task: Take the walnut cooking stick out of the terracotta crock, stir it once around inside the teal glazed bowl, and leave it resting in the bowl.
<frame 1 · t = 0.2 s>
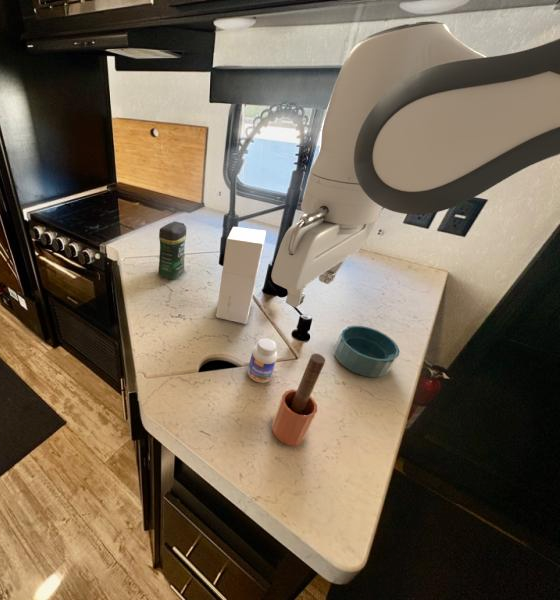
hand: (310, 291, 46), 31 cm above the worktop, tool pointing down, fingers open, 8 cm apart
stick: (288, 429, 61), resting on crock
crock: (287, 431, 62), on the worktop
pill bottle: (258, 374, 74), on the worktop
coffee jar: (171, 274, 112), on the worktop
bowl: (359, 359, 78), on the worktop
tall white carton: (233, 313, 93), on the worktop
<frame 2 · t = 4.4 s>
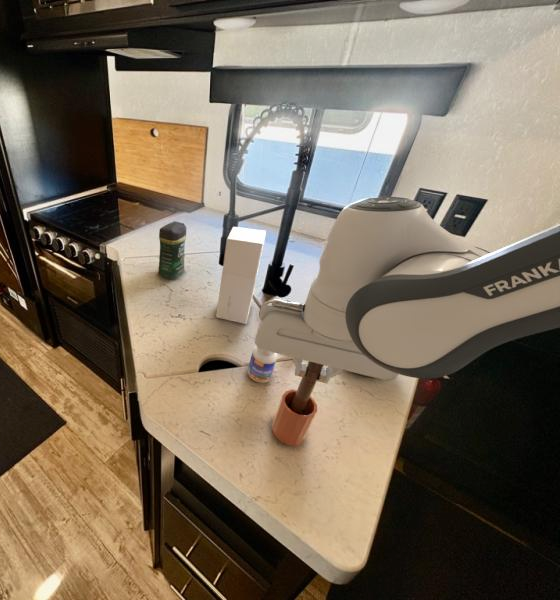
hand: (310, 376, 52), 16 cm above the worktop, tool pointing down, fingers closed on stick, 2 cm apart
stick: (288, 429, 61), point 1 cm above the worktop, touching crock, gripper
everything else where it was.
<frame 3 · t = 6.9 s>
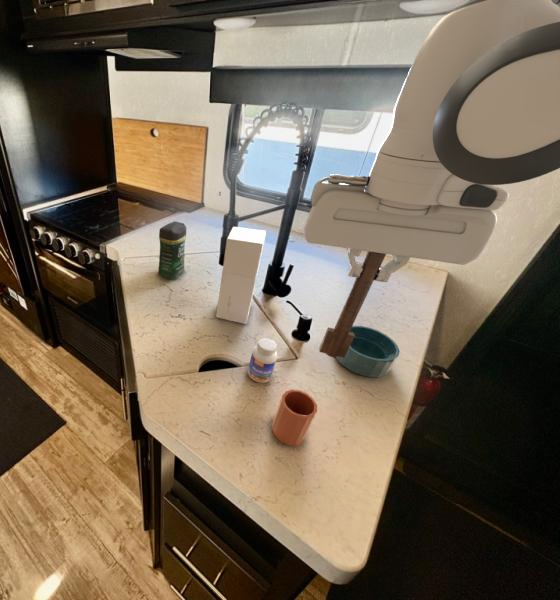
hand: (366, 277, 46), 33 cm above the worktop, tool pointing down, fingers closed on stick, 2 cm apart
stick: (331, 353, 55), point 18 cm above the worktop, touching gripper
everything else where it was.
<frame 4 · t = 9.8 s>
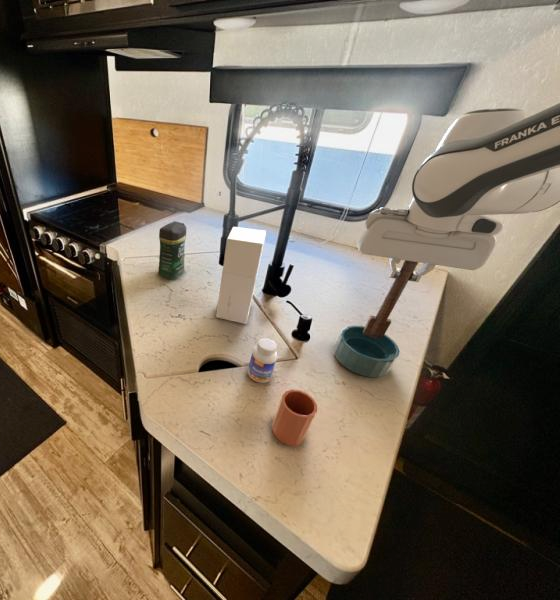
hand: (402, 278, 64), 24 cm above the worktop, tool pointing down, fingers closed on stick, 2 cm apart
stick: (372, 335, 73), point 8 cm above the worktop, touching gripper
everything else where it was.
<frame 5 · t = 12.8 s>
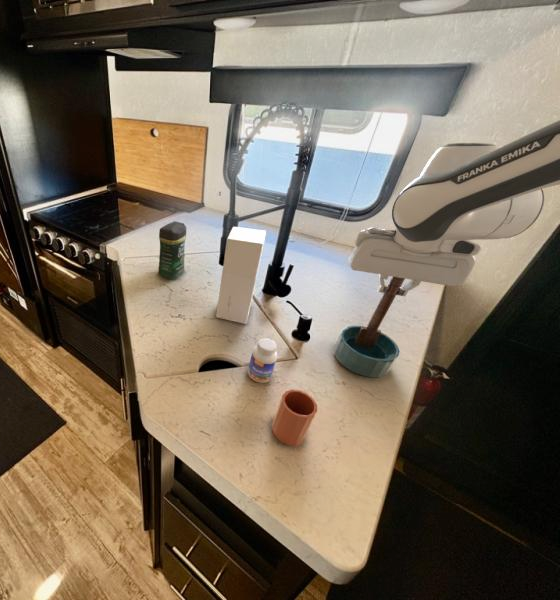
hand: (390, 292, 68), 19 cm above the worktop, tool pointing down, fingers closed on stick, 2 cm apart
stick: (363, 344, 77), point 3 cm above the worktop, touching gripper
everything else where it was.
when the fingers open (16 cm above the worktop, at t = 15.2 s): stick stays where it is, resting on bowl.
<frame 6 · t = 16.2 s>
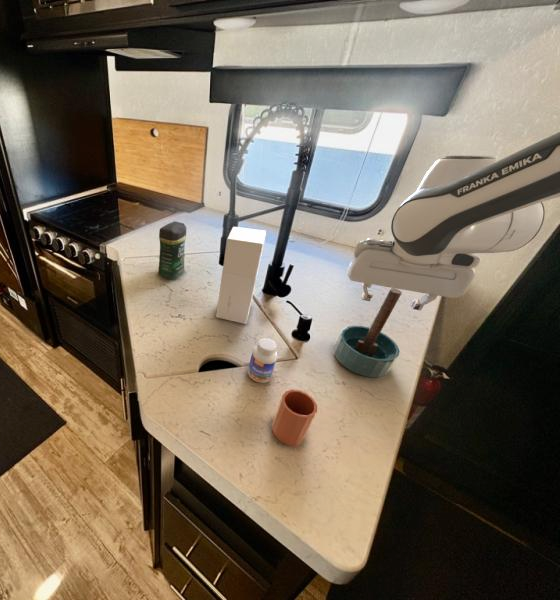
hand: (389, 303, 68), 17 cm above the worktop, tool pointing down, fingers open, 8 cm apart
stick: (360, 357, 77), point 1 cm above the worktop, touching bowl
everything else where it was.
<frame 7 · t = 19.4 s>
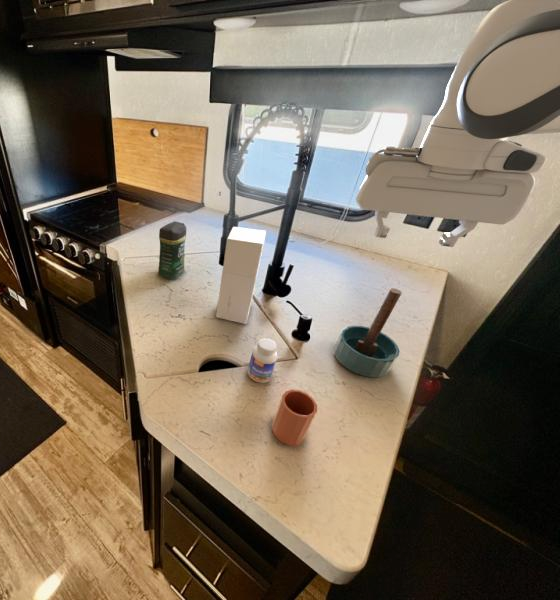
hand: (411, 240, 52), 35 cm above the worktop, tool pointing down, fingers open, 8 cm apart
nothing on the worktop moved.
at the end: stick inside the target area in the bowl (0.1 cm from its centre), point 0.6 cm above the bowl's base; stick moved 31.4 cm from its start; the gripper is holding nothing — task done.
